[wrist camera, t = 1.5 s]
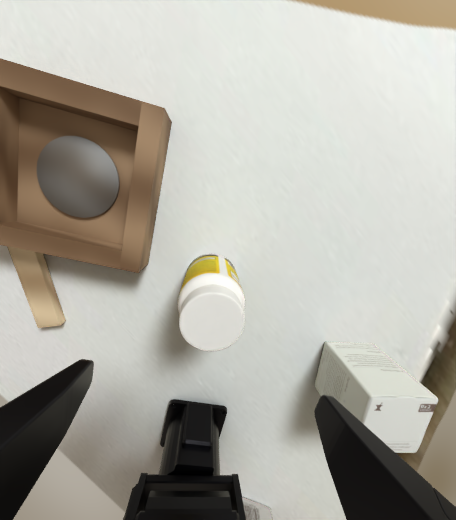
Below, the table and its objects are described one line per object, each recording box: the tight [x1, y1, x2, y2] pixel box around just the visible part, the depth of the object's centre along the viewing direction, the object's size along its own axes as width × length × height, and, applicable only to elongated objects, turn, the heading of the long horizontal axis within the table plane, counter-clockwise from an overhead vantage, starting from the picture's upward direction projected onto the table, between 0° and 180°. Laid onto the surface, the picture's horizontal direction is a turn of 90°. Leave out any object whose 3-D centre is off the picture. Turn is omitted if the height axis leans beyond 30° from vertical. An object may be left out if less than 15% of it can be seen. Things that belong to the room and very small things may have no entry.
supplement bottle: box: [178, 254, 245, 351], centre depth 17 cm, size 5×5×8 cm
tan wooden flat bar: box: [7, 246, 66, 328], centre depth 20 cm, size 8×2×1 cm, turn 6°
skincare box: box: [315, 342, 438, 453], centre depth 22 cm, size 6×6×7 cm
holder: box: [0, 59, 172, 273], centre depth 17 cm, size 12×12×3 cm
